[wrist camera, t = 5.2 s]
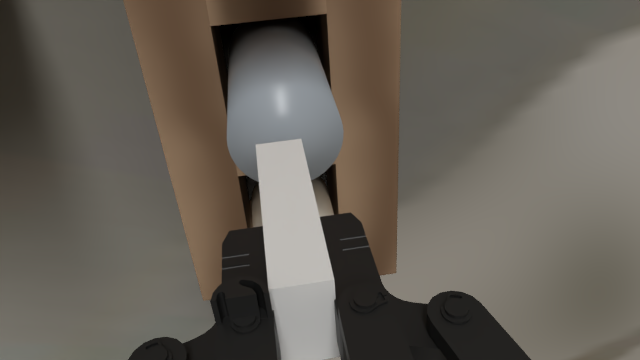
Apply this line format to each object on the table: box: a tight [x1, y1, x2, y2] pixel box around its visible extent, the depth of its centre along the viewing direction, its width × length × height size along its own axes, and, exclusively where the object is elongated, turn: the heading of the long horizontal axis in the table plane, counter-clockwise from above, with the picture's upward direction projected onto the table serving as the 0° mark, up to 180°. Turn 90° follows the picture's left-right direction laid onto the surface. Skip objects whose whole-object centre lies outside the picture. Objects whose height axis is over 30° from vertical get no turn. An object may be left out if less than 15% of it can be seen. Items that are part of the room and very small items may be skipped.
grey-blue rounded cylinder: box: [227, 17, 344, 182], centre depth 24 cm, size 4×4×9 cm
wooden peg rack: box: [123, 0, 401, 301], centre depth 28 cm, size 12×28×5 cm, turn 4°
